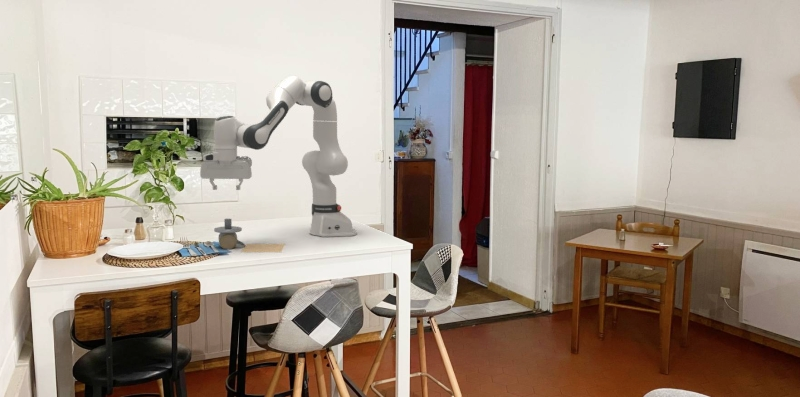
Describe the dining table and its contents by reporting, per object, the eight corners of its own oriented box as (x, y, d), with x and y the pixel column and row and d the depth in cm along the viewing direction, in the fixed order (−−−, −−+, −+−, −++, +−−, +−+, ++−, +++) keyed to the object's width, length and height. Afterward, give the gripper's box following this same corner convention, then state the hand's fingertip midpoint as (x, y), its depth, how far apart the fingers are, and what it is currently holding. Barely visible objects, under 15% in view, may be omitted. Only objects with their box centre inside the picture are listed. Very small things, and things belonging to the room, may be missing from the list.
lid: (243, 228, 261) (243, 217, 260) (239, 233, 250) (239, 221, 249) (217, 228, 260) (216, 216, 259) (211, 233, 249) (211, 221, 248)
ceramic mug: (218, 251, 250) (218, 232, 249) (218, 246, 258) (218, 228, 257) (245, 250, 254) (245, 232, 253) (244, 246, 261) (244, 228, 260)
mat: (285, 245, 264) (285, 243, 264) (281, 253, 248) (281, 252, 248) (247, 245, 262) (247, 243, 262) (240, 253, 246) (240, 252, 246)
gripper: (252, 155, 255) (253, 188, 256) (202, 155, 253) (203, 188, 255) (250, 156, 248) (251, 190, 250) (198, 156, 246) (199, 190, 248)
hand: (226, 189), depth 252 cm, fingers open, 8 cm apart
